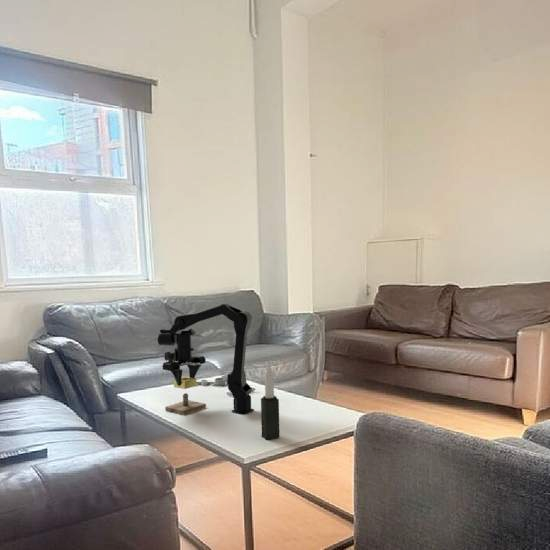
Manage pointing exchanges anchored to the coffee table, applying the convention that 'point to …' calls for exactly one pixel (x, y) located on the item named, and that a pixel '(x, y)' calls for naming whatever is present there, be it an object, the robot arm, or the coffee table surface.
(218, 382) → the pulley system
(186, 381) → the brass square frame
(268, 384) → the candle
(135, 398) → the coffee table surface
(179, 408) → the brown base plate
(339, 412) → the coffee table surface
